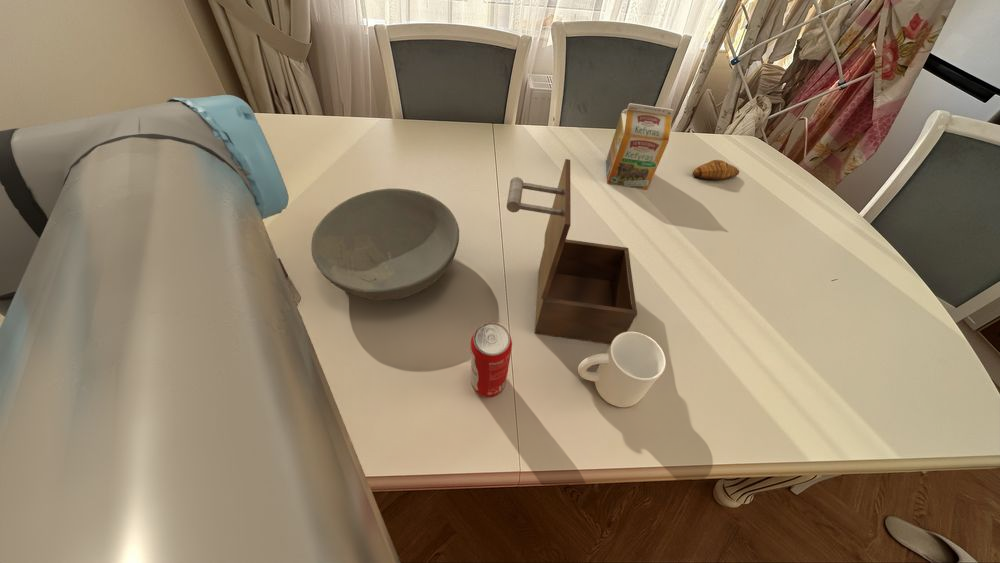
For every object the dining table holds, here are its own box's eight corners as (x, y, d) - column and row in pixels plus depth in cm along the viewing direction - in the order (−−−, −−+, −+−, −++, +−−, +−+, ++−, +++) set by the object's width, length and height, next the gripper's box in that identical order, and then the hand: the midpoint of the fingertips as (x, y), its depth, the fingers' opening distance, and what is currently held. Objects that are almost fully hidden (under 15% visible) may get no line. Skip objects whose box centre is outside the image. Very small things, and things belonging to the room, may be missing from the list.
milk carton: (643, 166, 113) (671, 99, 98) (647, 189, 106) (677, 121, 91) (605, 161, 113) (627, 93, 99) (607, 183, 106) (630, 114, 92)
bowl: (469, 312, 76) (470, 277, 68) (319, 332, 71) (302, 296, 63) (449, 219, 92) (449, 183, 85) (327, 230, 87) (314, 192, 79)
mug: (573, 404, 66) (588, 374, 58) (570, 359, 71) (584, 326, 63) (646, 411, 66) (671, 382, 58) (637, 365, 72) (659, 333, 64)
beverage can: (506, 368, 69) (516, 318, 58) (503, 405, 65) (513, 358, 53) (472, 364, 69) (475, 312, 58) (466, 400, 65) (468, 352, 53)
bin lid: (570, 159, 64) (515, 150, 64) (570, 224, 54) (505, 214, 54) (548, 235, 77) (502, 227, 76) (545, 299, 66) (492, 291, 66)
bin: (613, 281, 84) (628, 247, 77) (619, 345, 74) (637, 314, 67) (538, 270, 84) (546, 236, 77) (534, 333, 74) (543, 300, 67)
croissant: (697, 184, 109) (705, 168, 106) (686, 169, 114) (694, 154, 110) (742, 183, 111) (752, 168, 108) (729, 169, 116) (739, 153, 112)
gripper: (99, 158, 39) (203, 294, 55) (-230, 405, 23) (53, 494, 39) (176, 169, 39) (257, 302, 55) (-101, 424, 23) (129, 505, 39)
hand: (173, 382), depth 47 cm, fingers open, 13 cm apart
